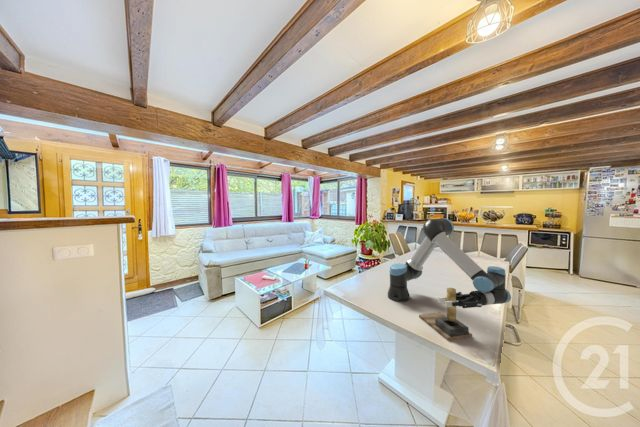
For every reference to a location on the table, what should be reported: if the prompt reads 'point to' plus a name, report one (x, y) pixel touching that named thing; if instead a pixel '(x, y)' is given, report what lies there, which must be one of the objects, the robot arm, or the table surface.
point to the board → (432, 324)
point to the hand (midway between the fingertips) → (442, 302)
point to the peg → (452, 310)
